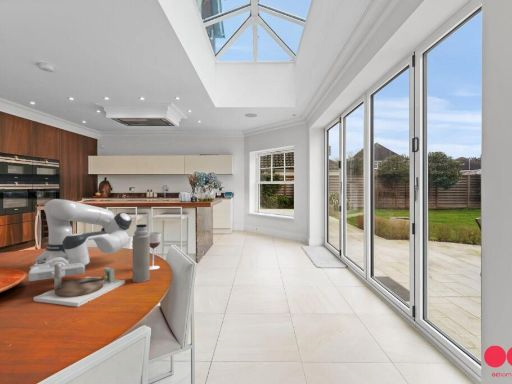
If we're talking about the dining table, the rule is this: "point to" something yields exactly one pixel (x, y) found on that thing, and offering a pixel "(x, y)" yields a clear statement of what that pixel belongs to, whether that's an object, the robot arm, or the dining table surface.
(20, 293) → the dining table surface
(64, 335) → the dining table surface
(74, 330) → the dining table surface
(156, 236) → the wineglass
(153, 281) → the dining table surface
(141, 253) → the thermos bottle
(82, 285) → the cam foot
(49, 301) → the stand
